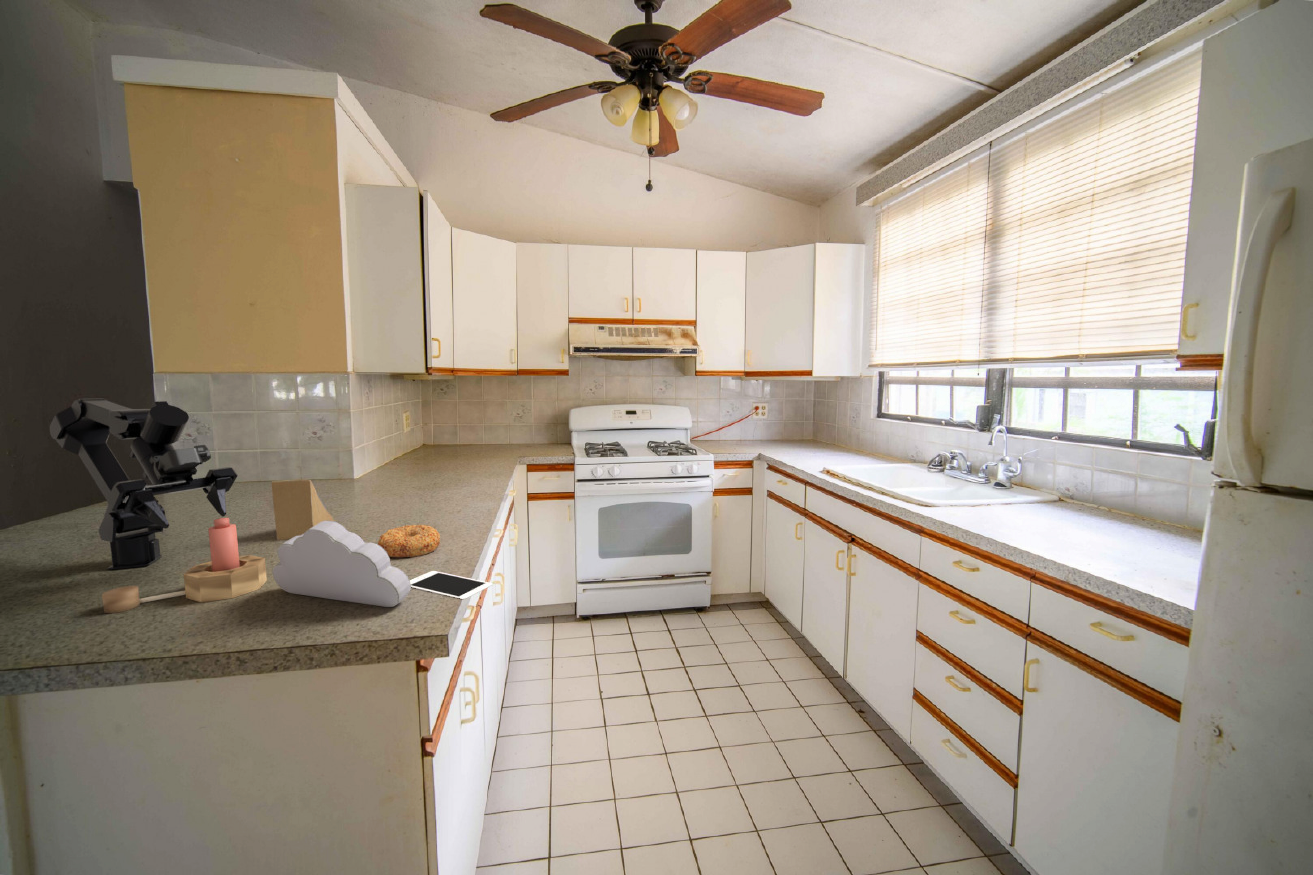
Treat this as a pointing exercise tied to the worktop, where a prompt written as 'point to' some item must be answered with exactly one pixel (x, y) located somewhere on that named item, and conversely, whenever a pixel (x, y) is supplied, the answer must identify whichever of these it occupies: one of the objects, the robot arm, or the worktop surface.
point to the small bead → (121, 599)
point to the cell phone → (449, 584)
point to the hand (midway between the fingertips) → (197, 520)
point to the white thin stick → (162, 596)
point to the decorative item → (339, 567)
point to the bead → (225, 580)
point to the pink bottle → (223, 545)
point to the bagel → (410, 541)
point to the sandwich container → (297, 507)
